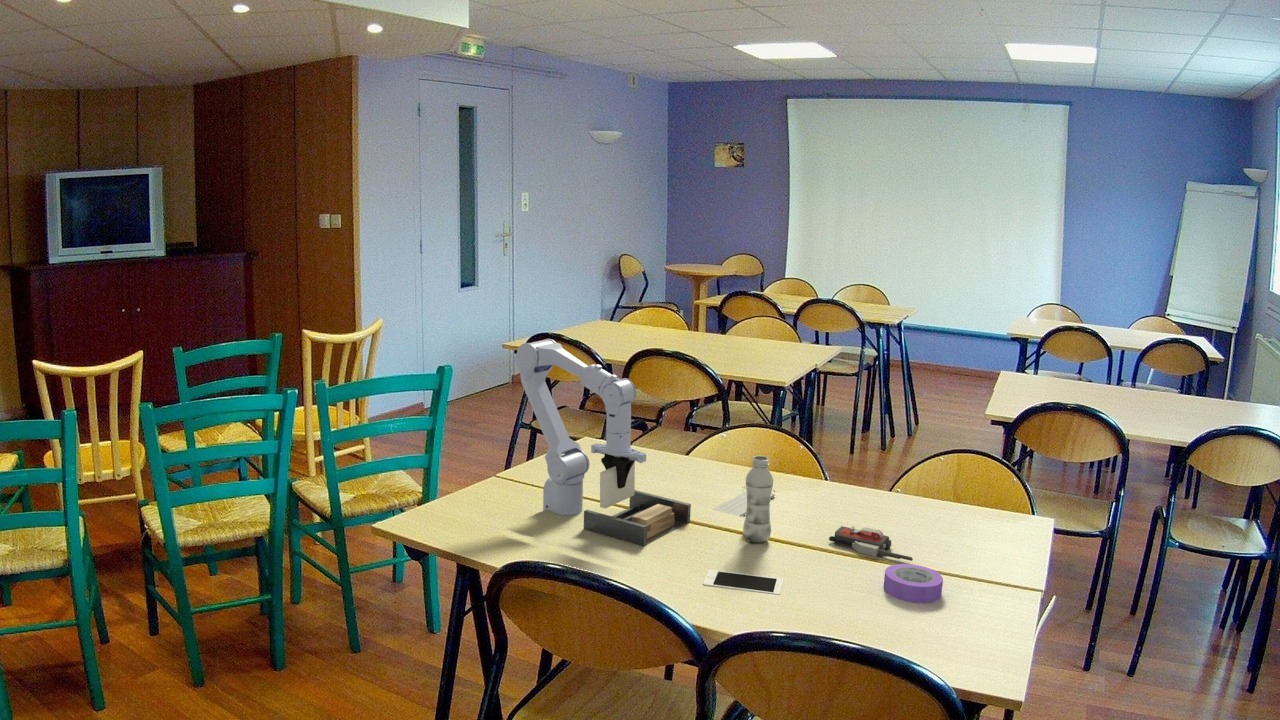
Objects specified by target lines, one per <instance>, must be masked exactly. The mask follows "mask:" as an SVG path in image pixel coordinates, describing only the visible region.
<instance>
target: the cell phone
mask: <svg viewBox="0 0 1280 720" xmlns="http://www.w3.org/2000/svg"><path fill="white" fill-rule="evenodd" d="M703 584H704V585H703ZM702 585H703V586H706V585H710V586H709V587H714V586H719V587H718V588H722V587H726V588H725V589H729V588H731V589H732V590H737V589H739V591H745V590H747V591H746V592H755V593H764V594H770V595H781V593H782V588H783V585H784V579H783V578H778V577H772V576H771V577H770V576H765V575H756V574H746V573H741V572H733V571H723V570H716V569H708V572H707V574H706V576H705V578H704V581H703V583H702ZM731 589H730V590H731Z"/></svg>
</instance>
